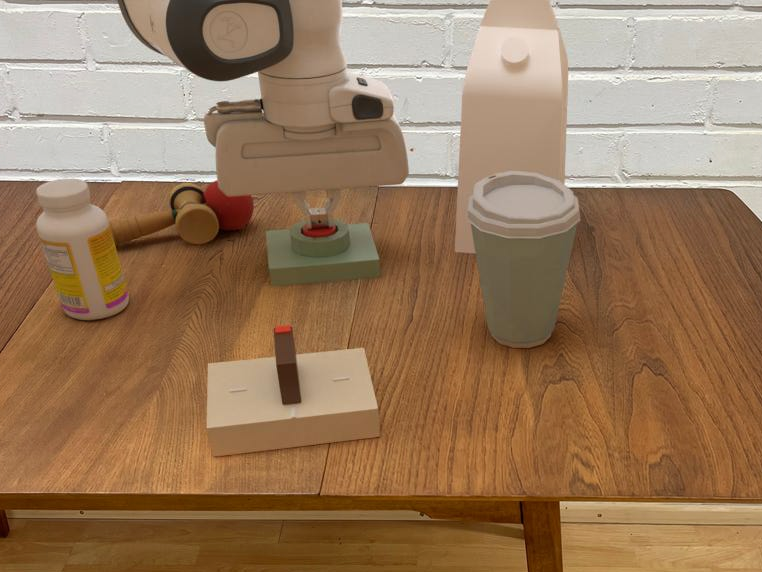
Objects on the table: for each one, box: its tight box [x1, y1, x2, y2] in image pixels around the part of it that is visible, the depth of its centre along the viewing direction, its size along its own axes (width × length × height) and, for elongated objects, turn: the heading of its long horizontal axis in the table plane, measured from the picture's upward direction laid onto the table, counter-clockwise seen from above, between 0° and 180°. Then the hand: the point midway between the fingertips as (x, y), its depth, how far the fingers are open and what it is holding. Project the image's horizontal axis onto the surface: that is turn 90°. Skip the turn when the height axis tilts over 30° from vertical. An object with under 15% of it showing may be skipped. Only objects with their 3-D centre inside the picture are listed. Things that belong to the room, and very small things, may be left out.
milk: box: [454, 0, 569, 255], centre depth 100 cm, size 12×12×26 cm
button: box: [303, 224, 336, 238], centre depth 100 cm, size 4×4×2 cm
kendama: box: [109, 180, 255, 247], centre depth 105 cm, size 8×6×18 cm
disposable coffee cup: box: [466, 171, 581, 349], centre depth 85 cm, size 11×11×15 cm
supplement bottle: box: [35, 178, 130, 321], centre depth 89 cm, size 7×7×13 cm
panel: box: [205, 347, 381, 458], centre depth 78 cm, size 14×10×3 cm
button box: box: [265, 218, 381, 288], centre depth 101 cm, size 12×10×4 cm
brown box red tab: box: [272, 324, 301, 405], centre depth 76 cm, size 6×2×4 cm, turn 12°
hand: (319, 226), depth 99 cm, fingers closed, pressing on button
